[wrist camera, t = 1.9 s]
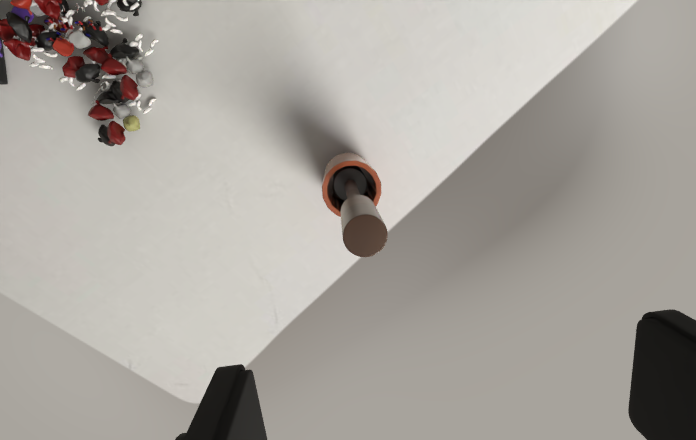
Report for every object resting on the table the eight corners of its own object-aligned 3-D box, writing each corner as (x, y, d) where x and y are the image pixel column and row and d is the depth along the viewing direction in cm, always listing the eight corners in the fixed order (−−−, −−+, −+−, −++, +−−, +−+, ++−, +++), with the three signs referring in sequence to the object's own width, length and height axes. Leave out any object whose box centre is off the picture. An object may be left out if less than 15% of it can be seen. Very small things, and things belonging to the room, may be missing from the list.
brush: (366, 167, 37) (404, 217, 18) (356, 195, 38) (383, 272, 19) (338, 158, 37) (346, 197, 18) (329, 186, 38) (326, 254, 18)
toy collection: (-36, 55, 32) (-85, 45, 28) (44, -92, 31) (6, -127, 26) (131, 154, 37) (112, 159, 33) (208, 31, 36) (199, 19, 31)
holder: (377, 161, 38) (389, 172, 30) (361, 205, 39) (369, 226, 31) (333, 146, 37) (333, 152, 29) (318, 190, 38) (314, 208, 30)
